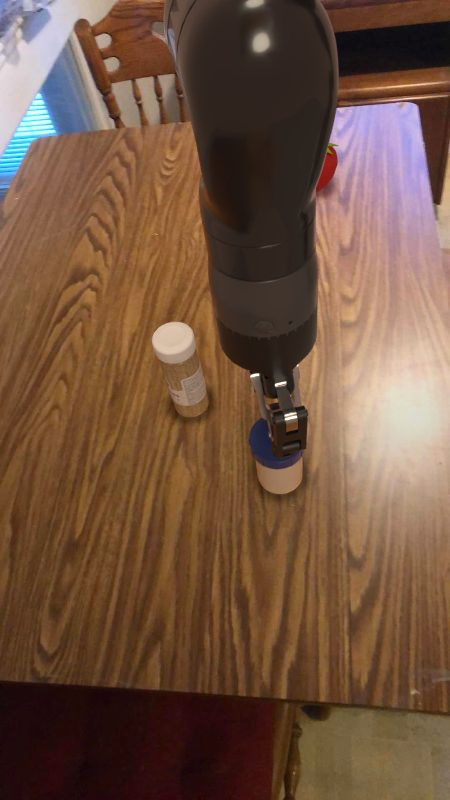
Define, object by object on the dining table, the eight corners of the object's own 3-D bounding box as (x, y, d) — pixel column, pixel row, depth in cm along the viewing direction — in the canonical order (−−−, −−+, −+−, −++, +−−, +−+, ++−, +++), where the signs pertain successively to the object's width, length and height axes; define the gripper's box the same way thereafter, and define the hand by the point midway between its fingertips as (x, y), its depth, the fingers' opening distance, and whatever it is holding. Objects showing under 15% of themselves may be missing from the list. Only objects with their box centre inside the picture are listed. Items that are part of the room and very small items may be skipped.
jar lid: (296, 416, 59) (296, 407, 58) (312, 462, 56) (312, 454, 55) (244, 428, 59) (243, 420, 58) (257, 475, 56) (256, 468, 55)
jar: (295, 452, 65) (294, 413, 58) (308, 491, 62) (308, 454, 55) (253, 463, 65) (247, 424, 58) (264, 501, 62) (258, 466, 55)
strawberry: (331, 174, 94) (333, 115, 85) (340, 202, 89) (344, 143, 81) (295, 180, 94) (294, 122, 86) (303, 208, 90) (302, 149, 81)
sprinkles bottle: (168, 404, 71) (143, 333, 60) (199, 385, 72) (179, 313, 61) (187, 428, 69) (164, 359, 58) (218, 409, 70) (201, 338, 59)
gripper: (348, 358, 36) (336, 476, 50) (288, 220, 44) (292, 354, 58) (234, 384, 36) (253, 495, 50) (195, 242, 44) (220, 370, 58)
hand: (274, 419), depth 54 cm, fingers open, 7 cm apart
